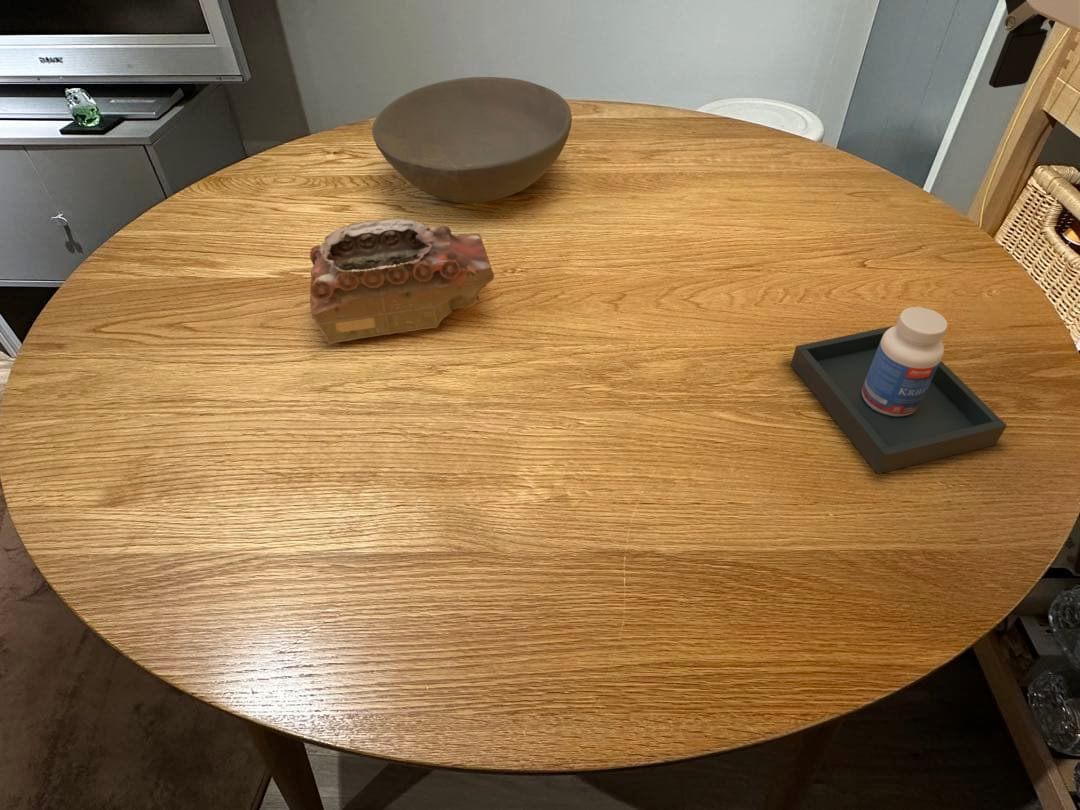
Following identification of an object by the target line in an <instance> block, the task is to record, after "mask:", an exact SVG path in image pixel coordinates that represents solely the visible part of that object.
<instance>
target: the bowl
mask: <svg viewBox="0 0 1080 810" xmlns="http://www.w3.org/2000/svg"><path fill="white" fill-rule="evenodd" d="M572 122H573V116H572V109H571V107H570V105H569V104H568V102H567V101H566V99H565V98H563V97H562V96H561V95H560V94H559V93H557V92H556V91H555V90H552V89H550V88H548V87H545V86H543V85H539V84H537V83H534V82H531V81H527V80H523V79H518V78H510V77H501V76H500V77H498V76H471V77H460V78H459V77H458V78H453V79H447V80H443V81H439V82H436V83H431V84H427V85H425V86H422V87H419V88H416V89H413V90H411V91H409V92H407V93H405V94H403V95H401V96H399V97H397V99H394V100H393V101H391V103H389V104H388V105H387V106H386V107H384V109H382V111H380V112H379V114H378V115H377V116H376V118H375V119H374V121H373V123H372V127H371V134H372V138H373V140H374V143H375V145H376V147H377V149H378V150H379V152H380V153H381V155H382V156H383V158H384V159H385V161H387V163H388V164H389V165H390V166H391V167H392V168H393V169H394V170H395V171H396V172H397V173H398V174H399V175H400V176H401V177H402V178H403V179H405V180H406V181H407V182H408V183H410V184H411V185H413V186H414V187H416V188H417V189H419V190H422V191H423V192H425V193H427V194H429V195H431V196H434V197H437V198H439V199H441V200H445V201H448V202H452V203H455V204H465V205H466V204H467V205H469V204H471V205H473V204H474V205H475V204H484V203H488V202H493V201H498V200H501V199H505V198H508V197H510V196H514V195H516V194H517V193H520V192H522V191H524V190H525V189H527V188H528V187H530V186H531V185H533V184H535V183H536V182H537V181H538V180H539V179H540V178H541V177H542V176H543V175H545V173H546V172H547V171H548V170H549V169H550V168H551V167H552V165H553V164H554V163H555V162H556V161H557V159H558V158H559V156H560V155H561V153H562V152H563V149H564V147H565V146H566V144H567V141H568V139H569V135H570V131H571V128H572Z"/></svg>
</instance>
